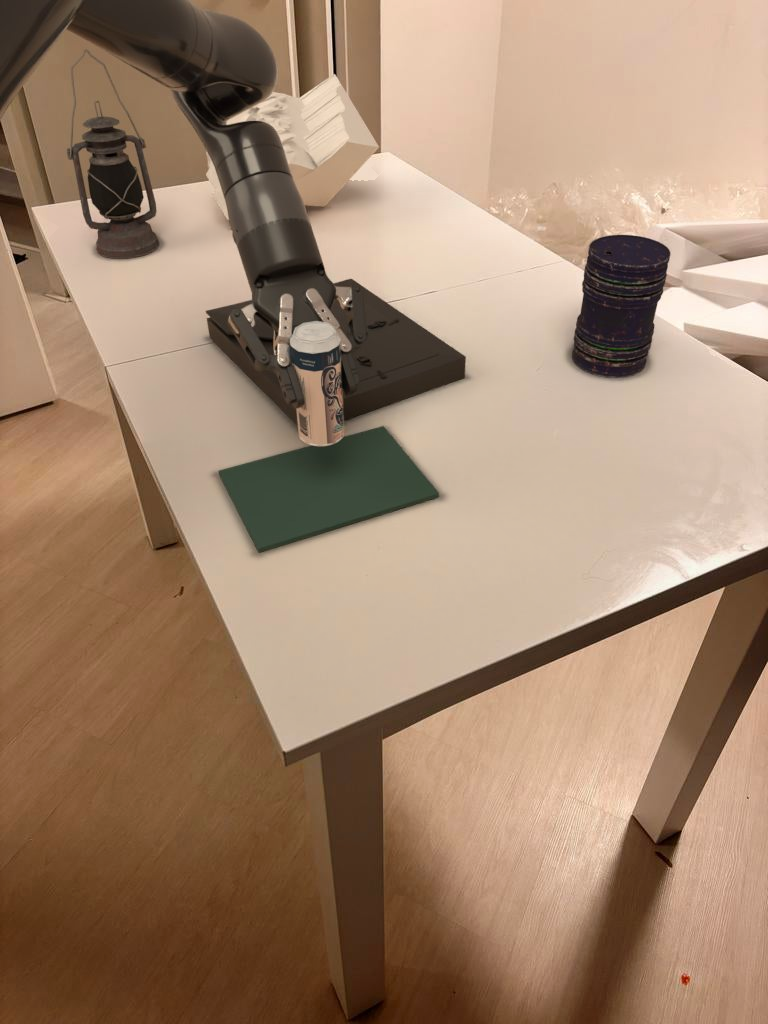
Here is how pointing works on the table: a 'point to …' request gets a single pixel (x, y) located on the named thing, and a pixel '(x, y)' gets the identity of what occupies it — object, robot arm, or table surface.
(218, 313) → the black flat block
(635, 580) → the table surface
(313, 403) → the beer can
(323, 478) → the mat
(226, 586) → the table surface
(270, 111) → the white angular faceted block
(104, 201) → the lantern
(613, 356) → the dark blue cylinder
